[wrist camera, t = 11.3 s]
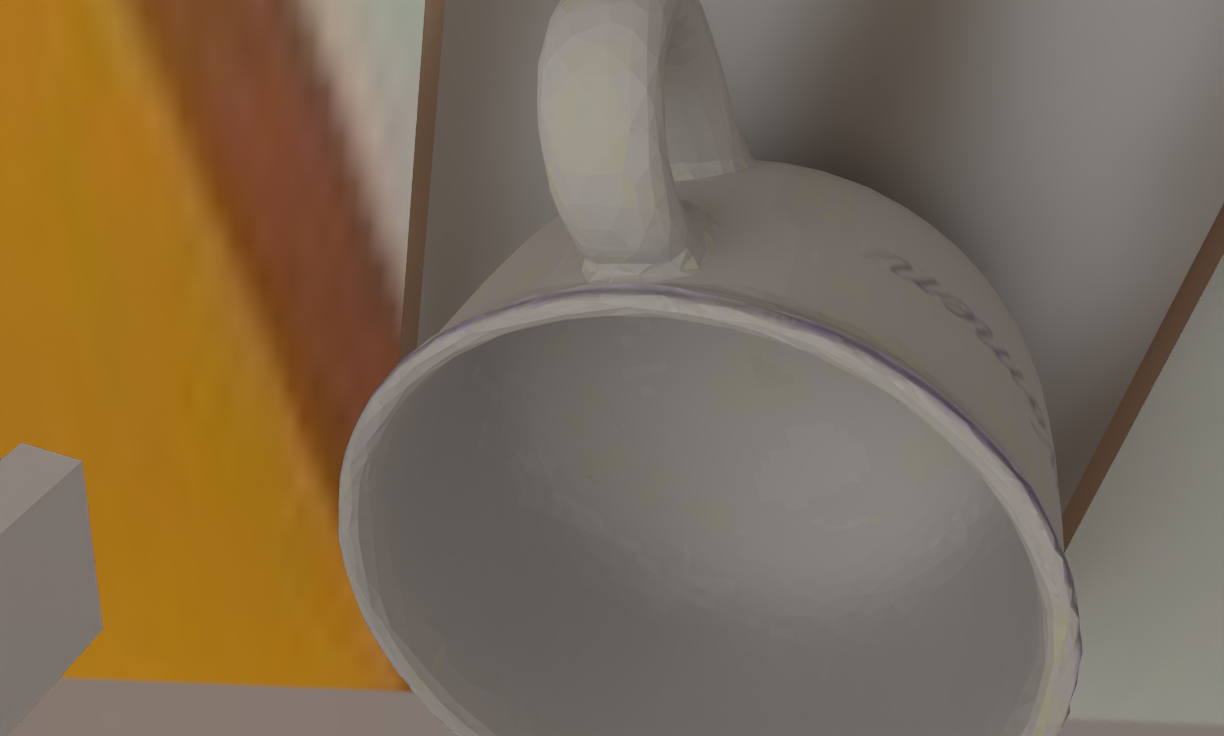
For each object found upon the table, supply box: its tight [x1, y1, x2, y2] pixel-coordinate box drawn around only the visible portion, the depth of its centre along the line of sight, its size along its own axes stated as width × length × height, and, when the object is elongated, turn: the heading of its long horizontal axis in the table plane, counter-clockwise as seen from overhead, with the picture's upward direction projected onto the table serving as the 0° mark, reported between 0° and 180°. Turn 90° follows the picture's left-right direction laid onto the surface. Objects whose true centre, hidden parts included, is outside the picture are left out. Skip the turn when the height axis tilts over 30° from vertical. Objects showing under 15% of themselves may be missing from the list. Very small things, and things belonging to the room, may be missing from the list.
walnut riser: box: [399, 0, 1224, 552], centre depth 23 cm, size 15×17×4 cm
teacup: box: [338, 0, 1082, 736], centre depth 18 cm, size 14×11×8 cm
